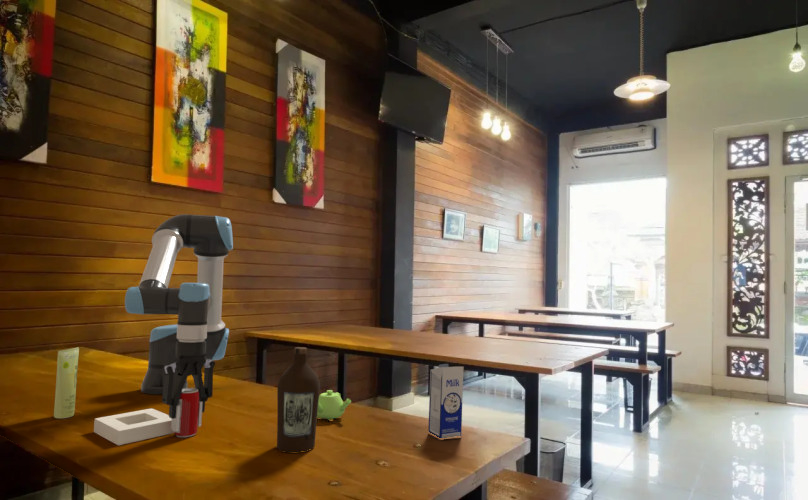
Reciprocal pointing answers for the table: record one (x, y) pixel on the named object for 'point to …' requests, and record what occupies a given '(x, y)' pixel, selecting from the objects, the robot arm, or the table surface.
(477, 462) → the table surface
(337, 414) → the teapot
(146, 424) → the socket block
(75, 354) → the tube
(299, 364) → the olive oil
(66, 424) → the table surface
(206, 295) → the robot arm
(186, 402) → the soda can
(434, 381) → the milk carton
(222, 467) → the table surface
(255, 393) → the table surface
